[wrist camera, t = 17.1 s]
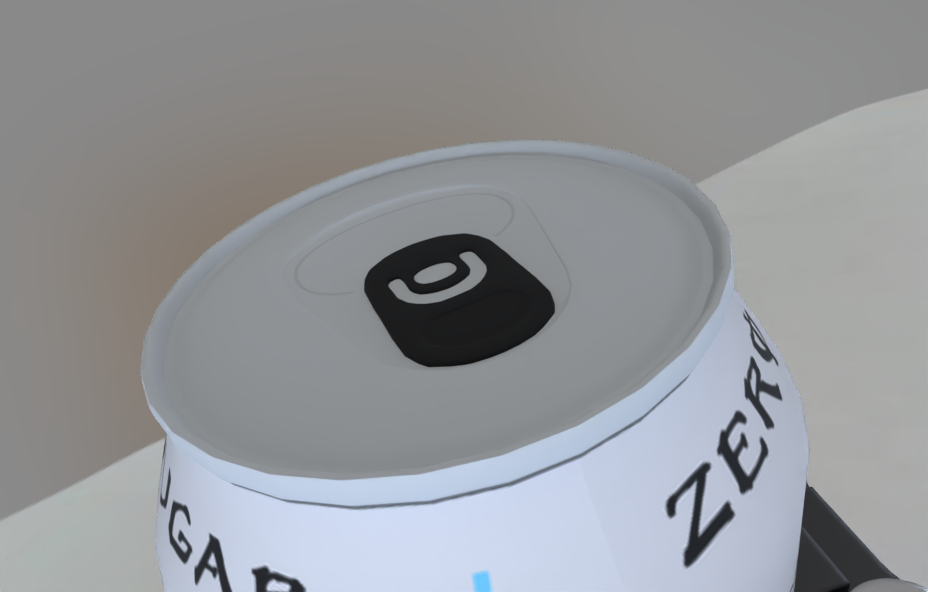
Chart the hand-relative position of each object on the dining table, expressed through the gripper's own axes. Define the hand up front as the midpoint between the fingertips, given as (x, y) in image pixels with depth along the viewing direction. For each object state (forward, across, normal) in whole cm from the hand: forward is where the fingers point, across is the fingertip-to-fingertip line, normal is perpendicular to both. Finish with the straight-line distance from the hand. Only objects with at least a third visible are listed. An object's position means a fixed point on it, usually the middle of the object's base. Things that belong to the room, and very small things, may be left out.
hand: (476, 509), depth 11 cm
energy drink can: (-2, 0, +9) cm, 10 cm away
